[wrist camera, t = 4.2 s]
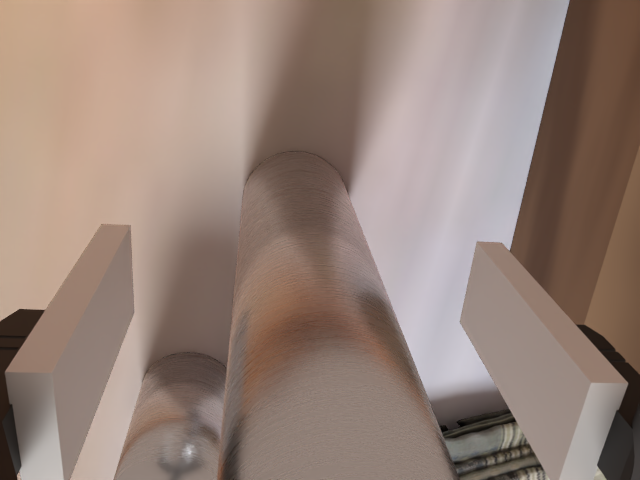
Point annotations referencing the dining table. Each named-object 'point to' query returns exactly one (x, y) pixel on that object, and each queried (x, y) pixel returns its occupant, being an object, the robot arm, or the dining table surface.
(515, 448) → the dish towel
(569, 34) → the hole block
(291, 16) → the dining table surface
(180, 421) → the short pin
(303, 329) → the long pin
